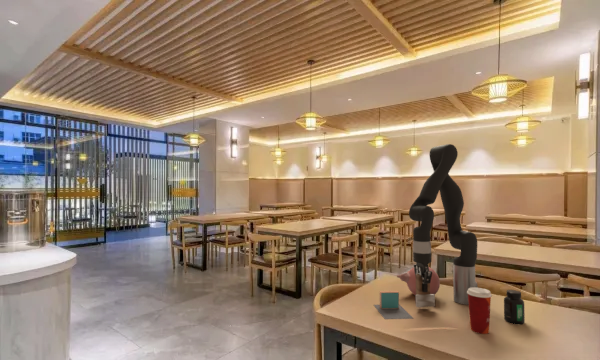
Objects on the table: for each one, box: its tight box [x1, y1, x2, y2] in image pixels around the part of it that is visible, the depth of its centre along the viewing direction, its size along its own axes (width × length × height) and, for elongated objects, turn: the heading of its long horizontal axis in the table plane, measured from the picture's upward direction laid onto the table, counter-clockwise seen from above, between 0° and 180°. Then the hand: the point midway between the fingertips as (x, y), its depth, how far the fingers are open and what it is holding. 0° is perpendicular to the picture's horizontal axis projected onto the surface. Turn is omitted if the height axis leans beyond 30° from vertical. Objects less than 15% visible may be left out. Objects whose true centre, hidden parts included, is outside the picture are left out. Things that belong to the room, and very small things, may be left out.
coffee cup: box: [467, 287, 493, 335], centre depth 120 cm, size 8×8×15 cm
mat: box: [373, 303, 415, 320], centre depth 136 cm, size 12×16×1 cm
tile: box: [379, 290, 400, 309], centre depth 140 cm, size 8×2×7 cm, turn 93°
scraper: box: [415, 274, 436, 308], centre depth 138 cm, size 8×4×13 cm, turn 94°
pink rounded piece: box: [396, 266, 441, 296], centre depth 157 cm, size 15×20×15 cm
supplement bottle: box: [503, 289, 526, 326], centre depth 128 cm, size 7×7×12 cm
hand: (422, 290), depth 139 cm, fingers closed on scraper, 3 cm apart
